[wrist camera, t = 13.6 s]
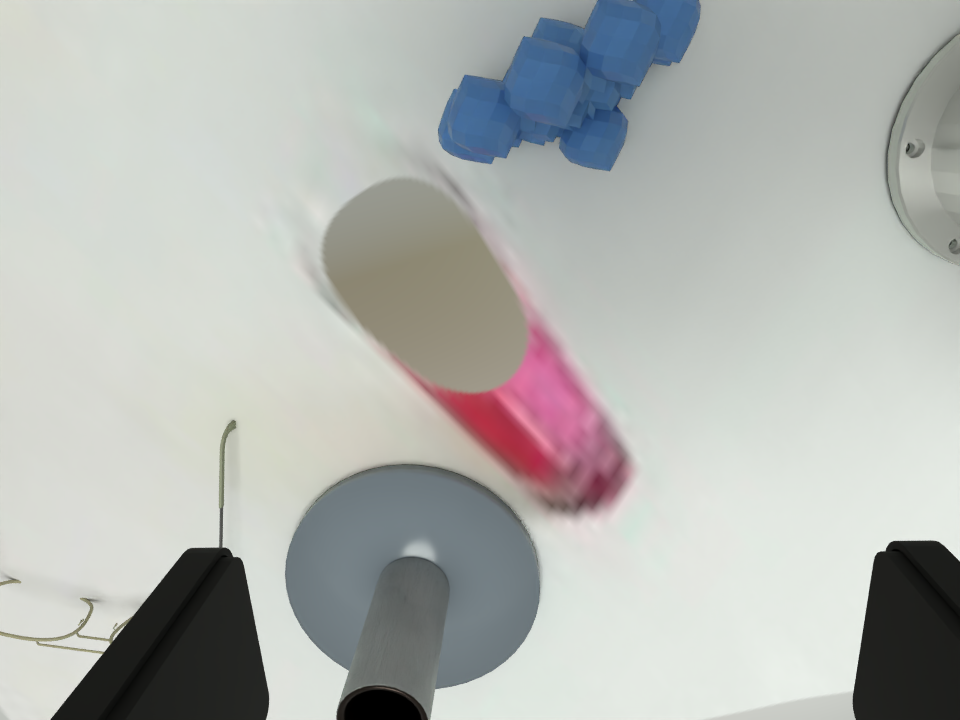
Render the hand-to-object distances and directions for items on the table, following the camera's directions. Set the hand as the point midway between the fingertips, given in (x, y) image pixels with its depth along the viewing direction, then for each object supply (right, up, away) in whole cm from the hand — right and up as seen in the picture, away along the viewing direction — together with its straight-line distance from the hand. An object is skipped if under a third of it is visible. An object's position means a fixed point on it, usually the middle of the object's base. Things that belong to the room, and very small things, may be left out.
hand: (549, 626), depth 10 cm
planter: (-5, -10, +33) cm, 35 cm away
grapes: (+3, +17, +24) cm, 30 cm away
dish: (-5, -10, +34) cm, 35 cm away
